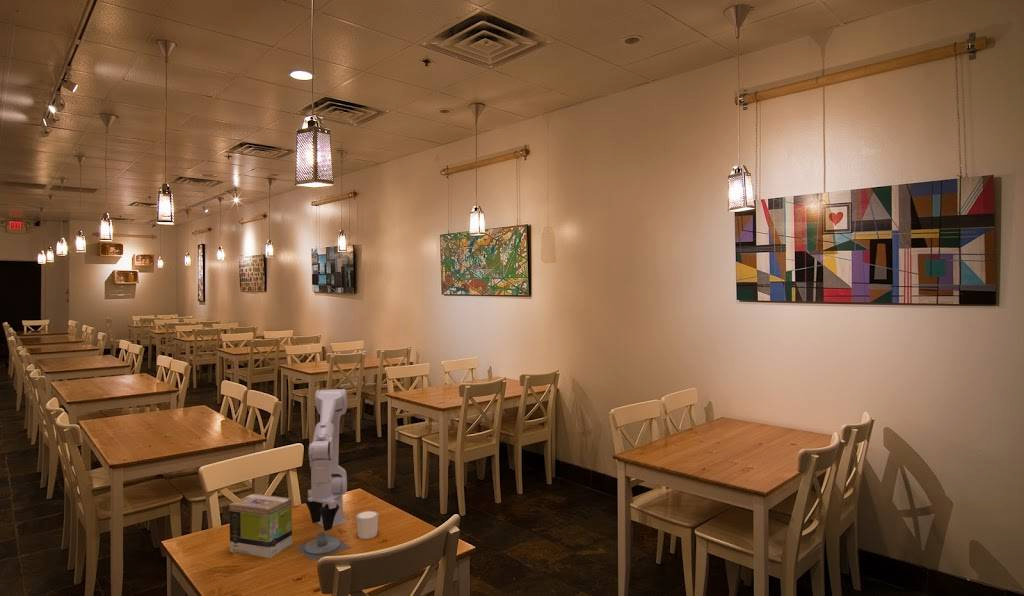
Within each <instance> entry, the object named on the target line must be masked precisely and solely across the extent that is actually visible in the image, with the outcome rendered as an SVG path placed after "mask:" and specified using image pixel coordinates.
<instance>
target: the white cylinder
mask: <svg viewBox="0 0 1024 596" xmlns="http://www.w3.org/2000/svg"><path fill="white" fill-rule="evenodd" d="M355 519H356V521H355V522H356V527H357V536H358V538H360V539H361V540H362V539H363V540H369V539H373V538H375V537H376V536H377V535H378V525H379V512H378V511H375V510H365V511H360V512H359V513H357V514H356V515H355Z"/></svg>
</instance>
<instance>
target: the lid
mask: <svg viewBox="0 0 1024 596" xmlns="http://www.w3.org/2000/svg"><path fill="white" fill-rule="evenodd" d="M316 535H317V537H316V538H315V539H312V540H309V541H308V542H306V543H307V544H306V545H305V552H306V553H308V554H312V555H322V554H327V553H330V552H333V551H335V550H336V549H338V548H339V546H340V541H339V540H340V539H339V538H338V539H339V540H338V539H336V538H337V537H336V538H333V537H327V536H328V532H327V531H320V532H318V533H317V534H316Z"/></svg>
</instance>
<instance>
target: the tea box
mask: <svg viewBox="0 0 1024 596" xmlns="http://www.w3.org/2000/svg"><path fill="white" fill-rule="evenodd" d="M228 507H229V509H228V512H229V514H228V515H229V516H228V519H229V552H230V553H233V552H234V553H240V554H244V555H248V556H255V557H261V558H266V559H271V558H272V557H275V556H276V555H277V554H279V553H280V552H283V550H285V549H288V548H289V547H290V546H291V545H293V523H292V522H293V517H292V516H293V515H292V498H290V497H284V496H282V497H281V496H274V495H266V494H259V493H251V494H249V495H246V496H245V497H243V498H240V499H238V500H236V501H234V502H231V503H229V504H228Z"/></svg>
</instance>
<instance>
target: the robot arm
mask: <svg viewBox="0 0 1024 596" xmlns="http://www.w3.org/2000/svg"><path fill="white" fill-rule="evenodd" d="M347 392H348V391H347V389H345V388H341V389H340V388H339V389H335V388H334V389H317V390H316V391H315V395H314V406H315V408H316V411H317V413H318V415H320V418H319V422H318V423H316V424H315V426H314V432H313V437H312V442H310V443H309V444H308V445H309V446H308V459H309V467H310V472H311V473H310V474H311V476H310V477H311V478H310V479H311V481H310V482H311V483H310V484H311V489H308V490H307V499H305V500H304V503H305V505H306V506H307V508H308V511H309V515H310V518H311V522H312V524H318V525H320V526H322V528H323V531H324V532H327V531H330V530H332V529H333V527H334V526H337V525H340V524H343V523H346V522H348V521H349V520H347V519H346V518H345V517H344V514H343V513H344V507H343V506H344V505H343V496H344V495H345V494H346V493H347V489H348V477H347V471H346V469H345V468H343V467H342V466H340V465H339V456H340V455H339V454H340V453H339V451H340V449H339V446H340V445H339V444H340V420H341V416H343V415H345V414H346V413H347V407H348V404H347V402H348V393H347Z"/></svg>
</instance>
